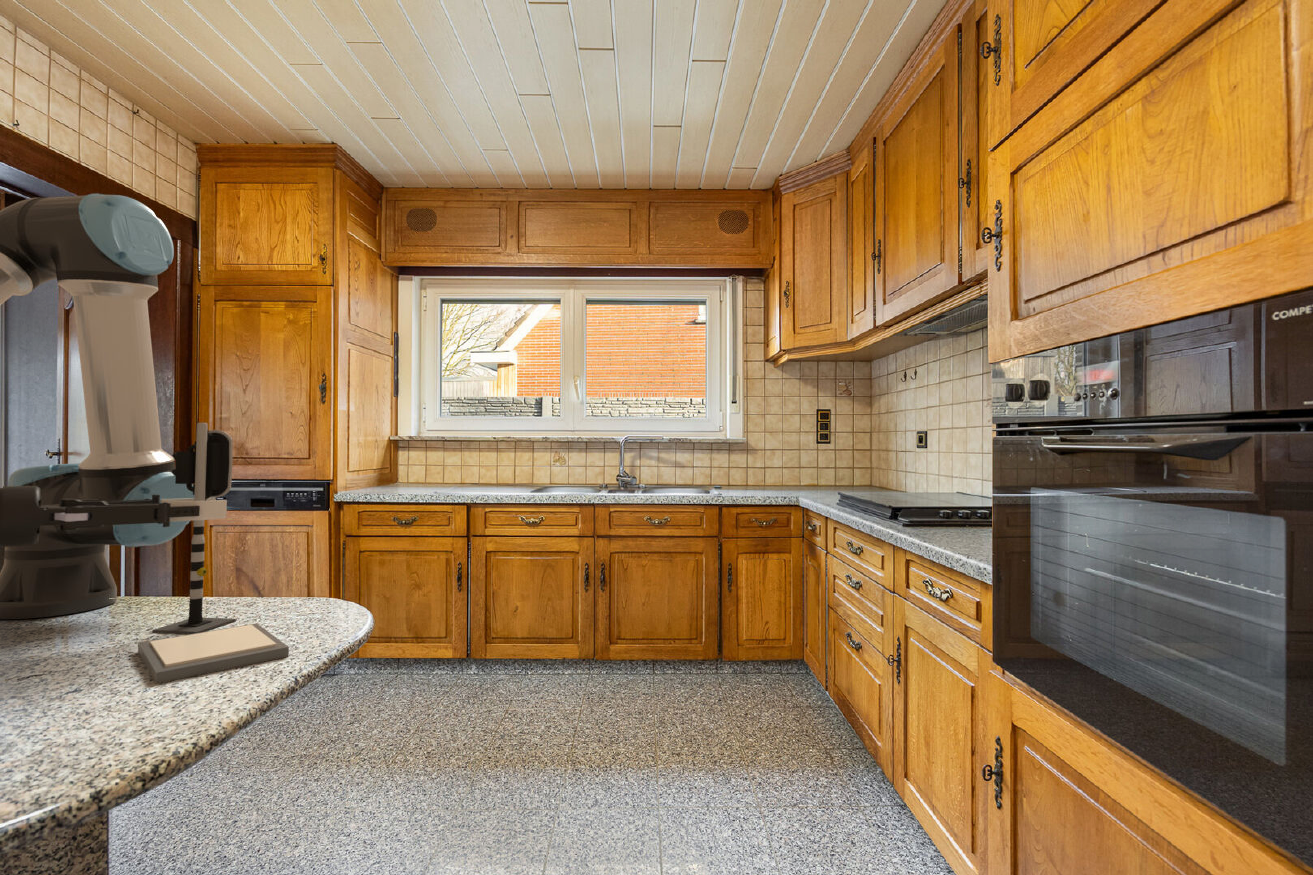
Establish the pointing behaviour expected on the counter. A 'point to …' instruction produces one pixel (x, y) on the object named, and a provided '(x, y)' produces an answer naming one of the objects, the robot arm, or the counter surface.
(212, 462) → the miniature traffic light
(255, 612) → the counter surface
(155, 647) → the plate
